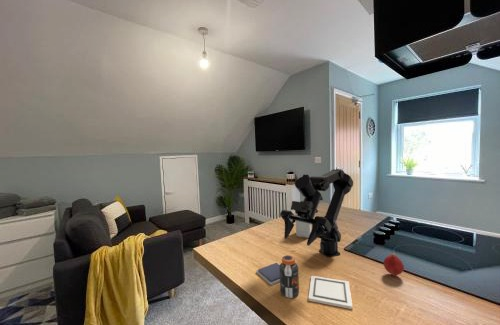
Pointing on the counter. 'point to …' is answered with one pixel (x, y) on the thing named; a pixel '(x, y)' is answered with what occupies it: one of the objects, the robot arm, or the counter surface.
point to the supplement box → (303, 229)
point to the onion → (393, 265)
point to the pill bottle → (289, 277)
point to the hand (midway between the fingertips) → (296, 241)
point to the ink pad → (270, 273)
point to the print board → (330, 292)
